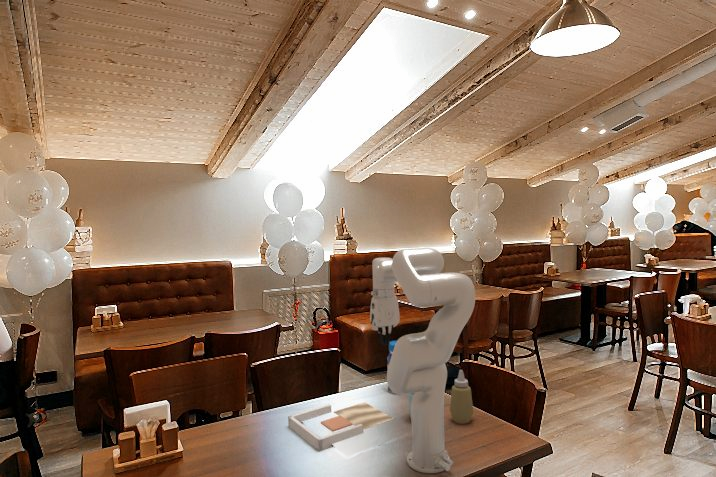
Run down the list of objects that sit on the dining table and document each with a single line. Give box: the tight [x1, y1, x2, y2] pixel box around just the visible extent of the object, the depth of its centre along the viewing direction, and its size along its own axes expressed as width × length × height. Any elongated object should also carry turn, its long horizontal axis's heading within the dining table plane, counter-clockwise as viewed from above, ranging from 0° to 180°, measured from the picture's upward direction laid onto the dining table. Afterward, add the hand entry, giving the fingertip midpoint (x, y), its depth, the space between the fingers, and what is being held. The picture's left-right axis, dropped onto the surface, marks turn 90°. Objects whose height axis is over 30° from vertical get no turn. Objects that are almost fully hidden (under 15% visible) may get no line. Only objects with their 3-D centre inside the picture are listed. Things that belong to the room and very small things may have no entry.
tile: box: [320, 415, 354, 432], centre depth 165 cm, size 8×8×2 cm
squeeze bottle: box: [449, 369, 474, 425], centre depth 166 cm, size 8×8×18 cm
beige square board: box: [333, 401, 395, 431], centre depth 171 cm, size 18×14×1 cm
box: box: [287, 404, 364, 452], centre depth 162 cm, size 21×17×4 cm
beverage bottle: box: [386, 340, 398, 395], centre depth 195 cm, size 8×8×20 cm
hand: (385, 344), depth 168 cm, fingers closed
